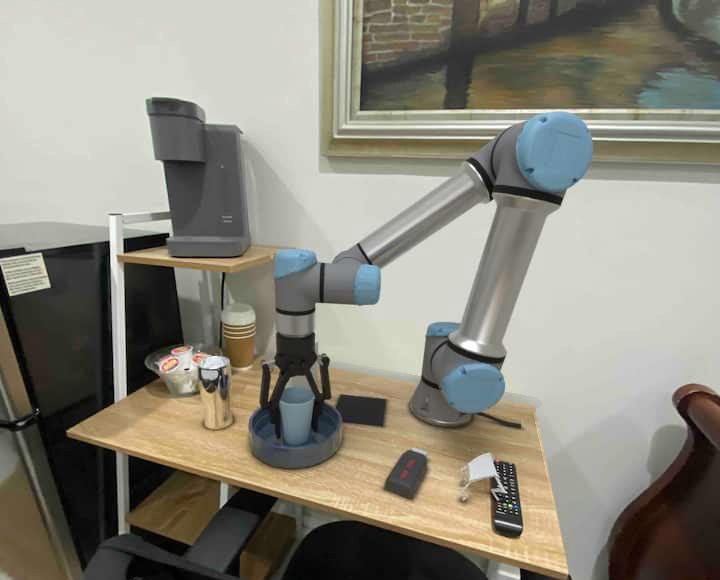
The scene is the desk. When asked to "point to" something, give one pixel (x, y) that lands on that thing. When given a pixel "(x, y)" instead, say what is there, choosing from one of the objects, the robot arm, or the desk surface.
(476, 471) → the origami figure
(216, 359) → the silver metal cylinder
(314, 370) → the milk carton
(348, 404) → the coaster
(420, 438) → the desk surface
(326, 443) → the bowl
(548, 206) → the robot arm
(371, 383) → the desk surface
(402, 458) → the usb drive
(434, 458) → the desk surface
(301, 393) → the cup
